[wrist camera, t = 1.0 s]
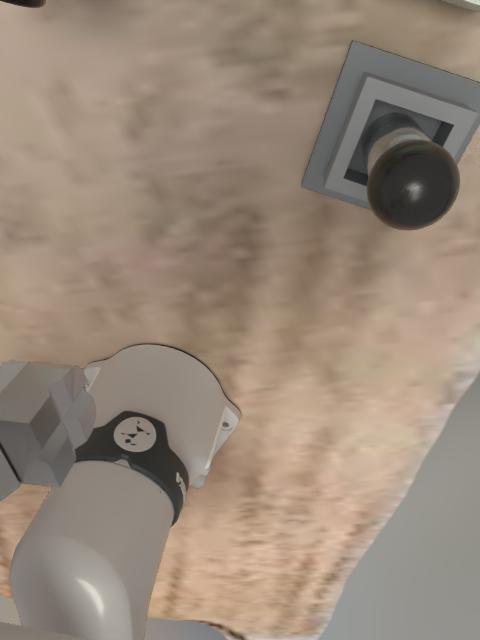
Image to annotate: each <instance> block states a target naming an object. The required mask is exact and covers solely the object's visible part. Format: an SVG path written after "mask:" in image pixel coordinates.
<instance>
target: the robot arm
mask: <svg viewBox="0 0 480 640" xmlns="http://www.w3.org/2000/svg"><path fill="white" fill-rule="evenodd" d="M84 386H85V388H86V390H85V389H84ZM240 418H241V413H240V411H239V410H238V409H237V408H236V407H235V406H234V405H233V404H232V403H231V402H230V401H229V400H228V399H227V398H226V397H225V395H224V393H223V391H222V389H221V387H220V385H219V383H218V381H217V380H216V378H215V377H214V375H213V374H212V373H211V372H210V371H209V370H208V369H207V368H206V367H205V366H204V365H203V364H202V363H200V362H199V361H197V360H196V359H194V358H193V357H191V356H189V355H187V354H185V353H183V352H181V351H179V350H176V349H173V348H169V347H165V346H160V345H137V346H132V347H129V348H126V349H123V350H121V351H120V352H118V353H117V354H115V355H114V356H112V357H111V358H109V359H107V360H104V361H97V362H92V363H90V364H88V365H87V366H86V368H85V370H84V371H83V369H82V368H80V367H77V366H70V365H61V364H51V363H42V362H27V361H18V360H10V361H8V362H5V363H3V364H2V365H1V366H0V502H1V501H2V500H3V499H4V498H6V497H7V496H8V495H10V494H11V493H12V492H13V491H15V490H16V489H17V488H18V487H20V483H23V484H32V485H42V486H52V488H51V490H50V491H49V493H48V495H47V496H46V498H45V500H44V501H43V503H42V505H41V506H40V508H39V510H38V511H37V513H36V515H35V516H34V518H33V520H32V522H31V523H30V525H29V527H28V528H27V530H26V532H25V533H24V535H23V537H22V538H21V540H20V542H19V543H18V545H17V547H16V549H15V552H14V555H13V558H12V563H11V568H10V589H11V593H12V597H13V599H14V603H15V605H16V608H17V611H18V614H19V617H20V622H21V626H18V625H13V624H9V623H4V622H0V640H144V638H145V628H146V621H147V614H148V608H149V603H150V599H151V595H152V591H153V587H154V583H155V580H156V576H157V572H158V569H159V565H160V562H161V558H162V555H163V551H164V548H165V544H166V541H167V538H168V534H169V531H170V528H171V527H172V526H173V525H174V524H175V522H176V521H177V519H178V517H179V514H180V512H181V511H182V509H183V506H184V503H185V500H186V493H187V490H188V487H189V486H192V487H195V488H197V489H201V488H202V486H203V484H204V482H205V479H206V476H207V475H208V473H209V470H210V467H211V464H210V463H211V460H212V457H213V456H214V455H215V454H216V452H217V451H218V450H219V448H220V447H221V446H222V444H223V443H224V442H225V441H226V439H227V438H228V437H229V435H230V434H231V433H232V432H233V430H234V429H235V428H236V426H237V425H238V423H239V421H240ZM226 422H227V423H226Z"/></svg>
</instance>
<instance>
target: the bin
mask: <svg viewBox="0 0 480 640" xmlns="http://www.w3.org/2000/svg"><path fill="white" fill-rule="evenodd" d="M441 1H444V2H447V3H450V4H453V5H456V6H459V7H462V8H465V9H468V10H471V11H480V0H441Z"/></svg>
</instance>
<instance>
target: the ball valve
mask: <svg viewBox="0 0 480 640" xmlns="http://www.w3.org/2000/svg"><path fill="white" fill-rule="evenodd" d="M0 1H3V2H6V3H10V4H14V5H18V6H23V7H29V8H39V7H42V6H44V5H45V3H46V0H0Z"/></svg>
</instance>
